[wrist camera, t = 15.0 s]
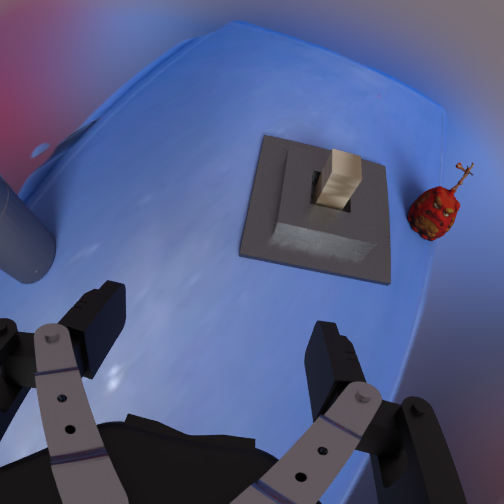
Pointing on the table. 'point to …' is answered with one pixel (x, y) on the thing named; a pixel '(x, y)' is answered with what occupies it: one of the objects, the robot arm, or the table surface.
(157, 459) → the robot arm
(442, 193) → the red clay folk toy
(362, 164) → the socket plate
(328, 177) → the maple block
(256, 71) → the table surface
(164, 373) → the table surface
